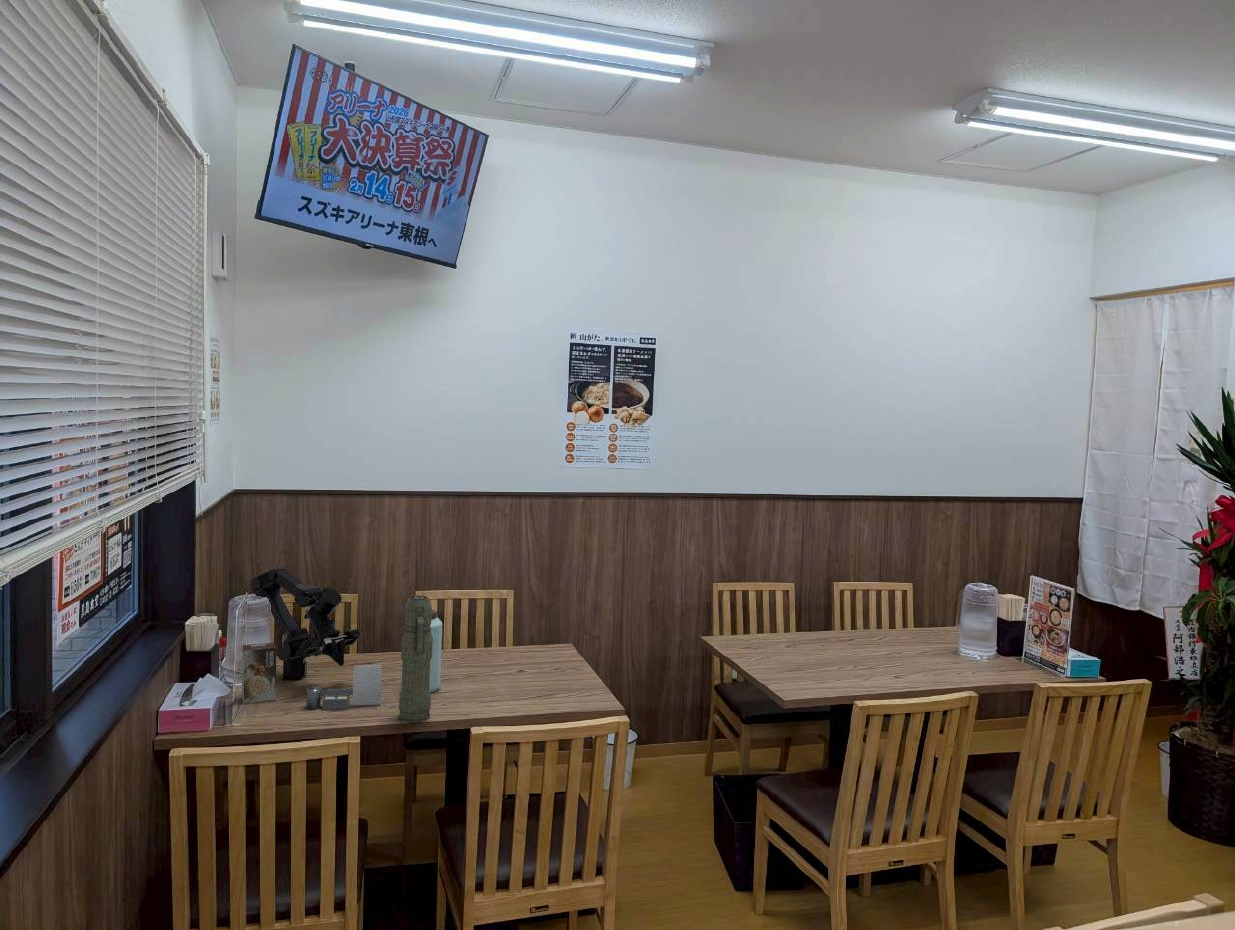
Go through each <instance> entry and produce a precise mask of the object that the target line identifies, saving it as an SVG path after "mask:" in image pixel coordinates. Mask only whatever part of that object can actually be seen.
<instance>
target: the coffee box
mask: <svg viewBox="0 0 1235 930" xmlns="http://www.w3.org/2000/svg"><path fill="white" fill-rule="evenodd" d="M241 663H242V667H241V668H242V671H241V673H242V675H241V676H242V677H241V679H242V681H241V682H242V683H241V685H242V686H241V699H242V698H243V699H242V702H243V704H251V703H260V702H270V701H276V700H277V646H276V644H275V642H267V643H266V642H265V643H254V644H253V643H252V644H243V645H242V662H241Z"/></svg>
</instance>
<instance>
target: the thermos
mask: <svg viewBox="0 0 1235 930" xmlns="http://www.w3.org/2000/svg"><path fill="white" fill-rule="evenodd" d="M432 610H433V607H432V603H431V599H430V598H429V597H428V596H426V595H412V596H410V597H408V598H407V601H406V604H405V606H404V620H403V621H404V623H403V624H404V629H403V634H402V637H401V647H400V648H401V649H400V650H401V651H400V658H401V660H402V666H401V667H402V669H401V690H400V692H399V701H398V710H399V716H398V718H399V717H400V718H399V719H400V720H401V721H403V722H407V723H417V722H423V721H426V720H428V719H429V718H430V716H431V713H430V711H431V710H430V709H432V707H431V705H432V695H431V693H430V691H429V686H430V660H431V658H432V649H433V637H432V634H431V628H430V626H431V618H432Z"/></svg>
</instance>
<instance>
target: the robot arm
mask: <svg viewBox="0 0 1235 930" xmlns="http://www.w3.org/2000/svg"><path fill="white" fill-rule="evenodd" d="M282 588H283V590H285V591H286V592H288V593H290V594H291V595H292V596H293V602H295V603H296V605H298V606H299V607H300V608H303V609H304V608H309V607H310V608H309V609H306V610H305V614H304V616H303V619H304V620H308V619H309V622H310V623H311V626H312V628H313V630H312V635H313V637H312V635H310V633H309V631H308V629H307V628H306V627H302V628H300V627H299V626H298V625H297V623H296V621H295V620H294V618H293V616H292V614H291V612H290V610H289V607H287V605H286V603H285V601H284V599H283V597H282V596H281V589H282ZM250 589H251V590H252V592H253V593H254V595H255V596H256V597H257V596H261V597H267V598H268V599H269V602H270V604H271V611H270V613H271V615H272V617H273V619H274V621H275V622H276V624H277V627H278V628H279V629H280V632H281V634H282V636H283V637H282V642H281V645H282V647H281V649H280V650H279V651H278V652H277V654H278V660H280V661H282V663H283V664H282V665H283V666H282V667H283V668H282V676H281V678H280V679H281V680H289V681H290V680H293V681H294V680H297V681H299V680H301V681H302V680H303V679H304V678H305V677H306V675H308V661H306V660H307V658H310V657H311V655H312V654H313V656H314V657H318V656H321V655H327V656H328V657H329V658H331V659H332V660H333V661H334V662H335V663H336V664H337V665H338V666H339V667H343V666H345V647H349V646H352V645H354V644H355V643H356V642H357V641H358V639H360V638H361V636H362V633H361V631H360V630H359V629H358V628H352V629H347V630H346V632H344V633H343V635H340V634H341V631H340V629H338V630H337V629H336V627H335V623H336V621H335V619H334V618H331V616H330V615H331V614H332V613H333V612H334V611H335V610H336V608H337V607H339V605H340V604H341V602H342V600H343V598H342V595H341V593H339V592H338V591H337V590H335V589H332V587H331V586H327V587H324V588H323V590H322V589H321V587H318V586H316V585H314V584H307V583H305V582H303V581H301V580H300V579H299V578H297V577H296V576H294V575H293V574H292V573H290V572H289V571H288V570H287V569H286V568H285V567H278V568H277V567H275V568H271V569H270V570H268V571H266V572H264V573H263V574H260V575H256V576H254V577H253V578H252V580H251V582H250Z"/></svg>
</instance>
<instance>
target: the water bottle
mask: <svg viewBox="0 0 1235 930" xmlns="http://www.w3.org/2000/svg"><path fill="white" fill-rule="evenodd" d="M438 613H439V612H438V610H435V609H432V618H431V626H430V628H431V634H432V637H433V649H432V658H431V660H430V686H429V691H430V694H431V693H435V692H436V691H437V690H438V689H439V687H440V685H441V673H442V672H441V670H442V669H441V667H442V644H443V643H442V642H443V622H442V620H441V619H440V618H439V617H438Z"/></svg>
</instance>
